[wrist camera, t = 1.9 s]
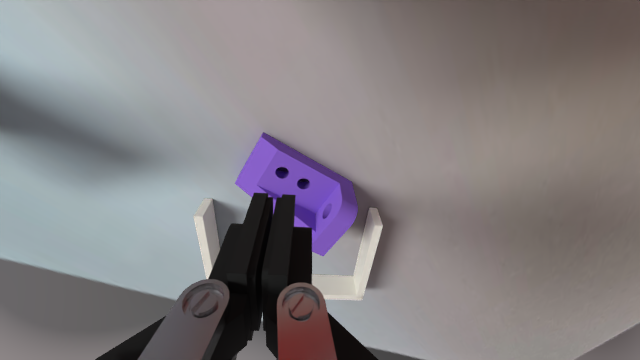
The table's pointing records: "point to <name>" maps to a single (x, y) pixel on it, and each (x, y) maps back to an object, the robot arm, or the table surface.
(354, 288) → the white u-shaped fence
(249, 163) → the bracket
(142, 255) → the table surface
